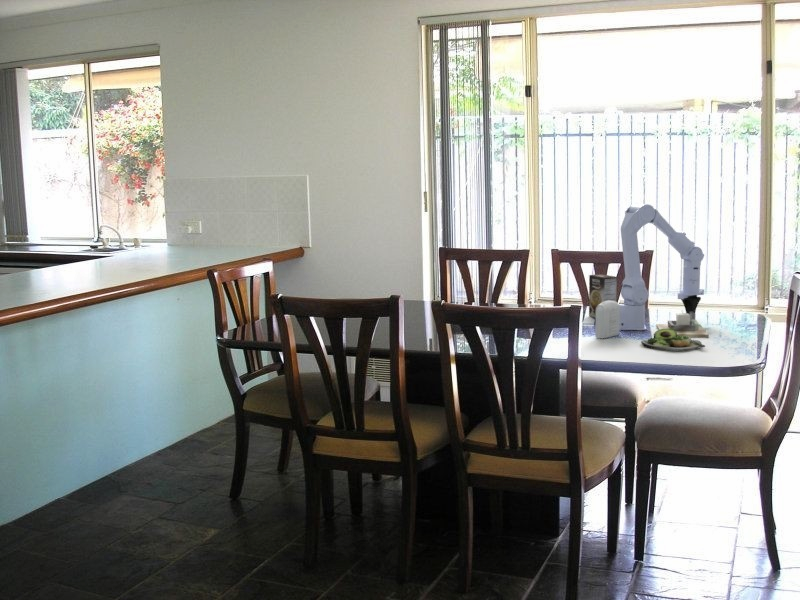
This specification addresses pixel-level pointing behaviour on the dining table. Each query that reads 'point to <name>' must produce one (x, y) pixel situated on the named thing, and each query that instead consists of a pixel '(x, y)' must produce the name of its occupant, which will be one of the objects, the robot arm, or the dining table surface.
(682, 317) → the white cube block
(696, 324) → the gate
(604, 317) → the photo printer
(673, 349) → the salad plate
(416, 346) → the dining table surface
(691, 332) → the beige board
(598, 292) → the coffee box
